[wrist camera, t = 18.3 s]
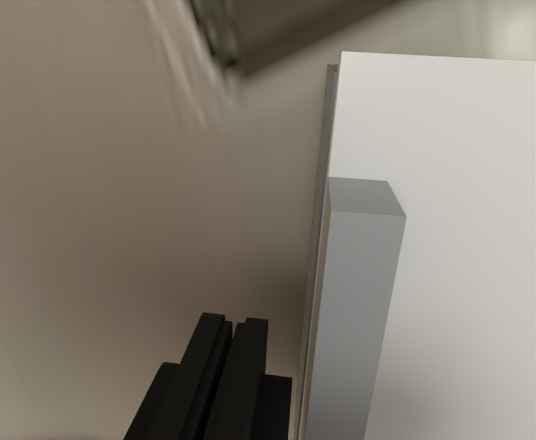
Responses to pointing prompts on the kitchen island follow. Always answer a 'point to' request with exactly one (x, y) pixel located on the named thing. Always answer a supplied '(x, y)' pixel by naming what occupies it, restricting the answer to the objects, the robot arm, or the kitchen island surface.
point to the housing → (315, 235)
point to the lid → (426, 254)
